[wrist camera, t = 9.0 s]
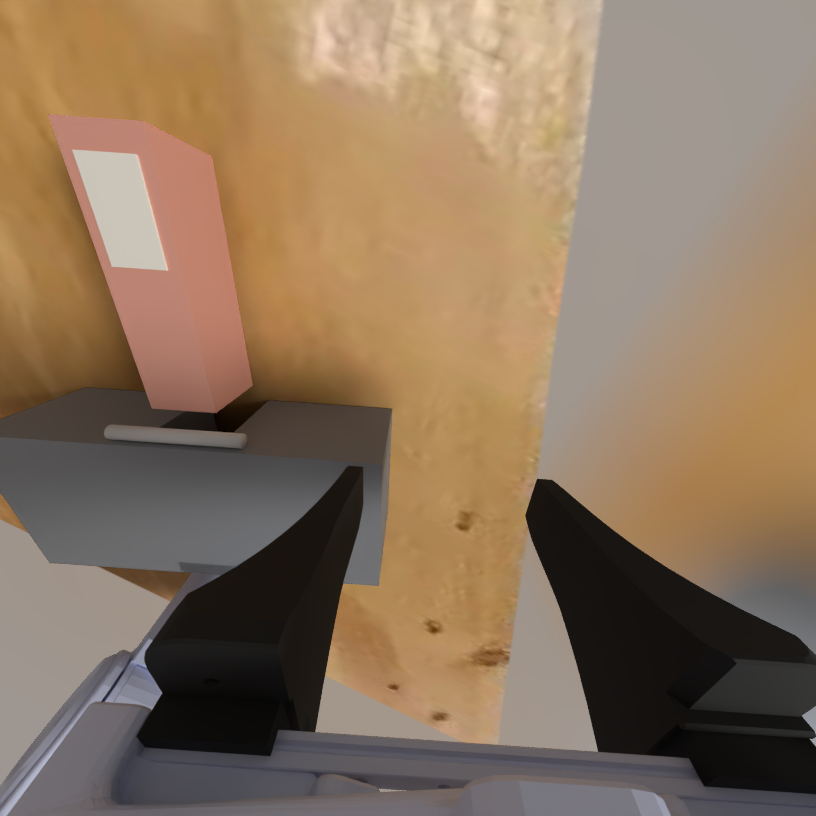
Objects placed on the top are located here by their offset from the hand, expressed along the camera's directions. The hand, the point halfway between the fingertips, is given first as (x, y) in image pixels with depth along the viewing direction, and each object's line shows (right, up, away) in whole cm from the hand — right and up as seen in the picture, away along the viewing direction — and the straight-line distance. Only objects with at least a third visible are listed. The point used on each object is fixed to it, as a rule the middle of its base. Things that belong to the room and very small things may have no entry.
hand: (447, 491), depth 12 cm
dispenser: (-14, 0, +11) cm, 18 cm away
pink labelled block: (-13, +10, +5) cm, 18 cm away
